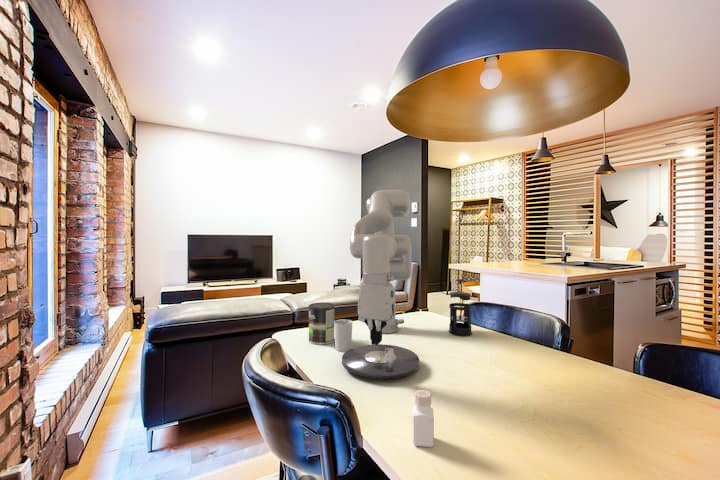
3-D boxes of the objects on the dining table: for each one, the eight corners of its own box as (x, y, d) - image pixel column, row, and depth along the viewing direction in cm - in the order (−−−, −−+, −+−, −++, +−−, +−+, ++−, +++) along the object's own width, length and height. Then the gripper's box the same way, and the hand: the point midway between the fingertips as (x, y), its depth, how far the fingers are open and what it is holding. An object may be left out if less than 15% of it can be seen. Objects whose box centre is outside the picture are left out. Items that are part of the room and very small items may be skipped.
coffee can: (312, 346, 118) (312, 308, 118) (305, 338, 127) (305, 303, 127) (338, 342, 122) (338, 306, 122) (329, 335, 132) (329, 301, 132)
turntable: (338, 354, 109) (338, 329, 109) (404, 350, 113) (404, 325, 113) (348, 386, 85) (348, 353, 85) (431, 379, 90) (431, 348, 90)
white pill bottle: (432, 436, 64) (432, 389, 64) (434, 449, 60) (434, 399, 60) (412, 434, 65) (412, 388, 65) (412, 447, 61) (412, 397, 61)
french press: (463, 338, 128) (463, 281, 128) (443, 333, 135) (443, 279, 135) (478, 332, 136) (478, 279, 136) (458, 327, 143) (458, 277, 143)
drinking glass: (354, 346, 117) (354, 320, 117) (349, 353, 111) (349, 324, 111) (337, 345, 119) (337, 318, 119) (331, 351, 113) (331, 323, 113)
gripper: (405, 278, 89) (405, 342, 90) (357, 275, 96) (358, 335, 96) (397, 282, 82) (396, 352, 83) (346, 279, 89) (346, 343, 89)
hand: (376, 343), depth 90 cm, fingers closed
